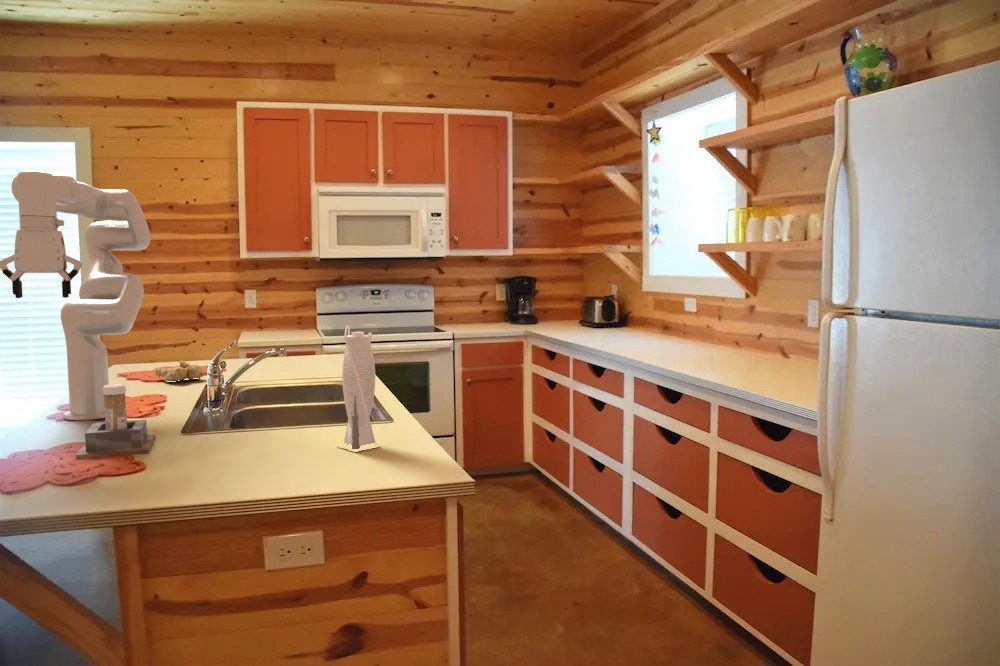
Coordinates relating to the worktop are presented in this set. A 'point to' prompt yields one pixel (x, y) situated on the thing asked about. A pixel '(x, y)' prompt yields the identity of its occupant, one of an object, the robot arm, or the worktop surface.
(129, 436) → the socket
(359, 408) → the skyscraper
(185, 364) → the ginger root
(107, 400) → the sprinkles bottle
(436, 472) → the worktop surface
